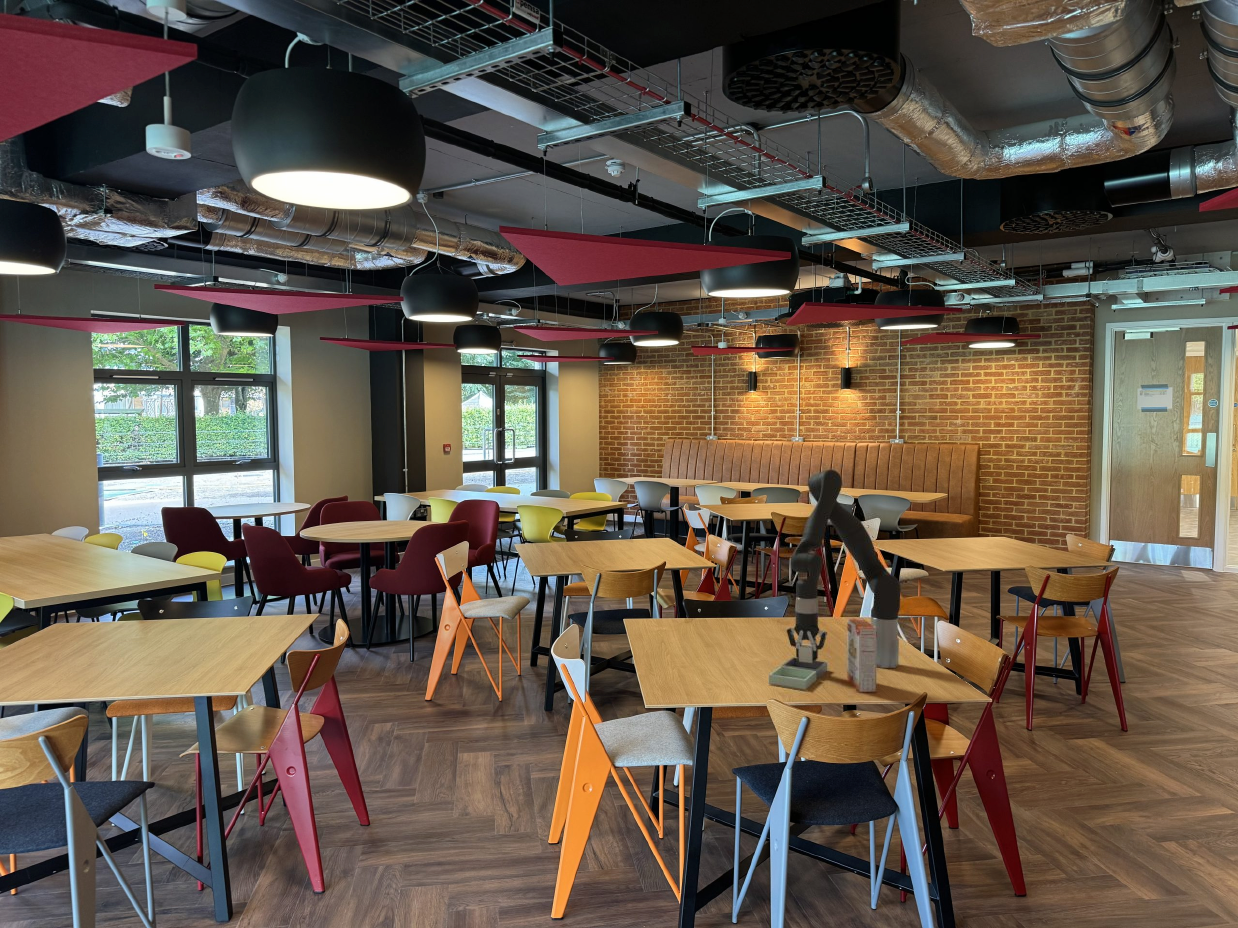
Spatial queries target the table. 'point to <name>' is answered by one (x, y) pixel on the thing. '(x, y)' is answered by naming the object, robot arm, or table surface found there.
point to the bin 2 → (808, 666)
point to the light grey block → (806, 653)
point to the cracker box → (861, 654)
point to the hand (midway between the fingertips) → (806, 659)
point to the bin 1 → (792, 678)
